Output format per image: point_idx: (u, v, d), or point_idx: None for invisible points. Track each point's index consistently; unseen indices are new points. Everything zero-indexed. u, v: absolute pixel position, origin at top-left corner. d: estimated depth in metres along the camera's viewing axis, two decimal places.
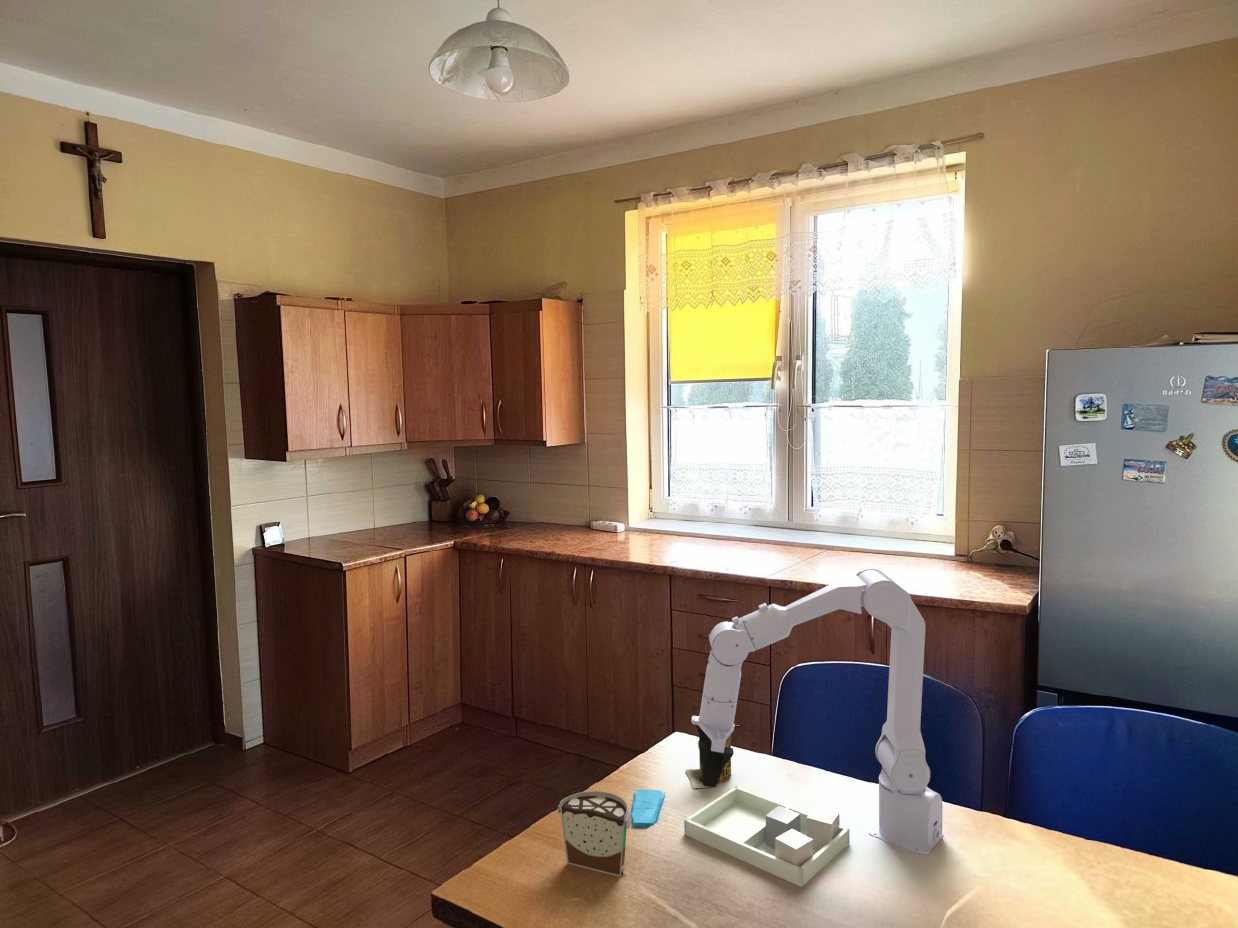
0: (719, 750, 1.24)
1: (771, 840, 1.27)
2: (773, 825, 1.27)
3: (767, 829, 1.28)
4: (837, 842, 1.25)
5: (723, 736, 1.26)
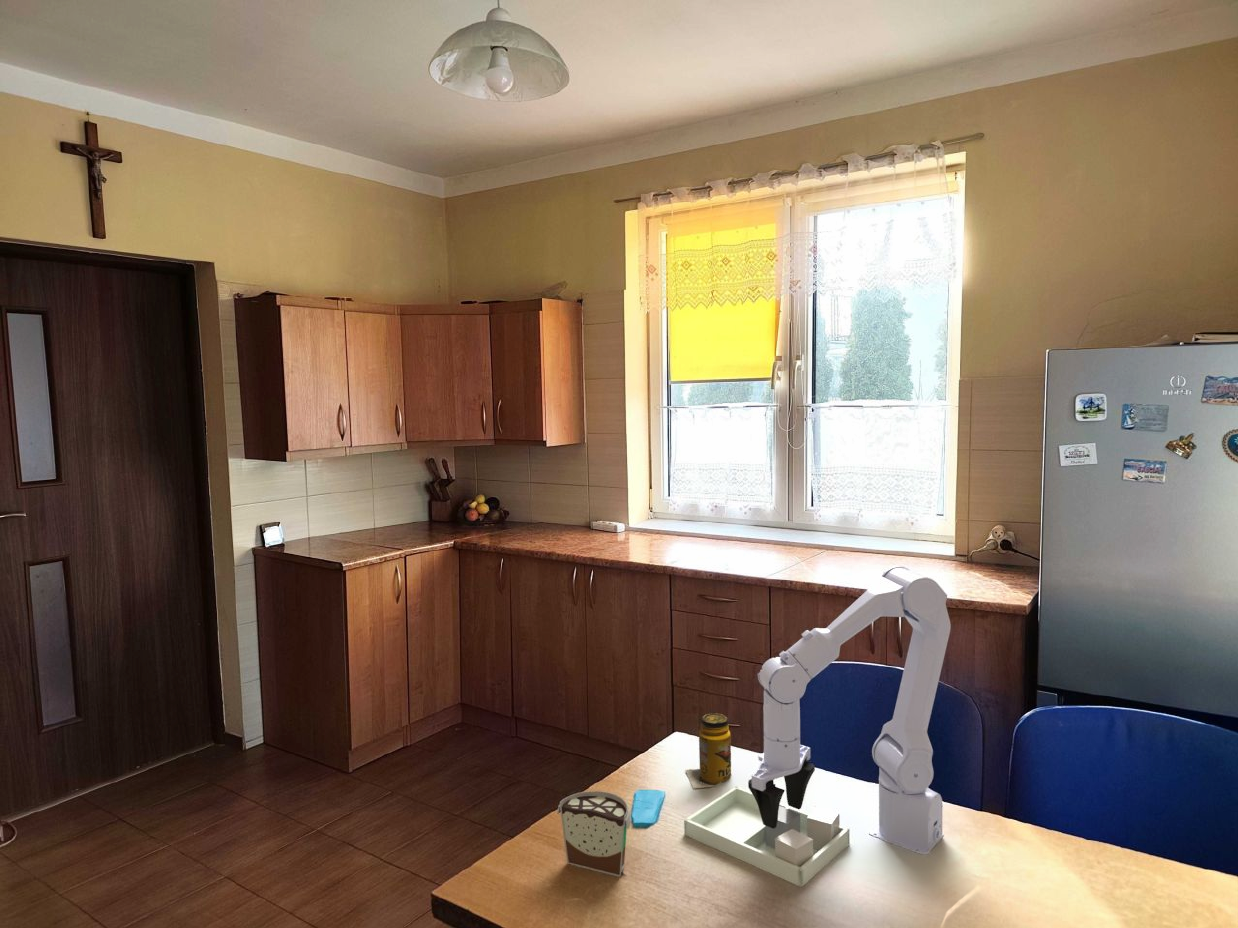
0: (758, 788, 1.22)
1: (771, 840, 1.27)
2: None
3: (767, 829, 1.28)
4: (837, 842, 1.25)
5: None
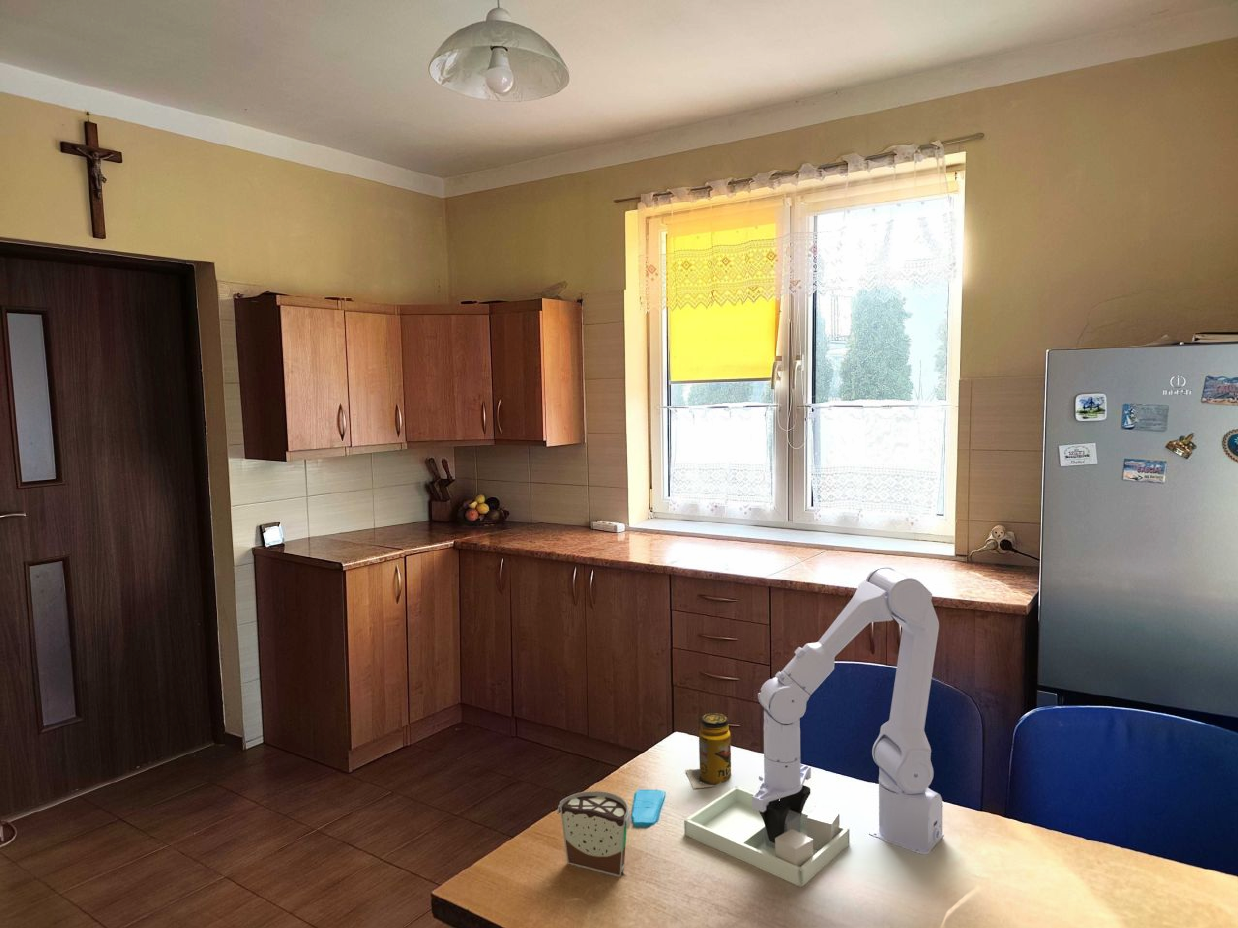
0: (758, 809, 1.22)
1: None
2: None
3: None
4: (837, 842, 1.25)
5: (771, 796, 1.23)
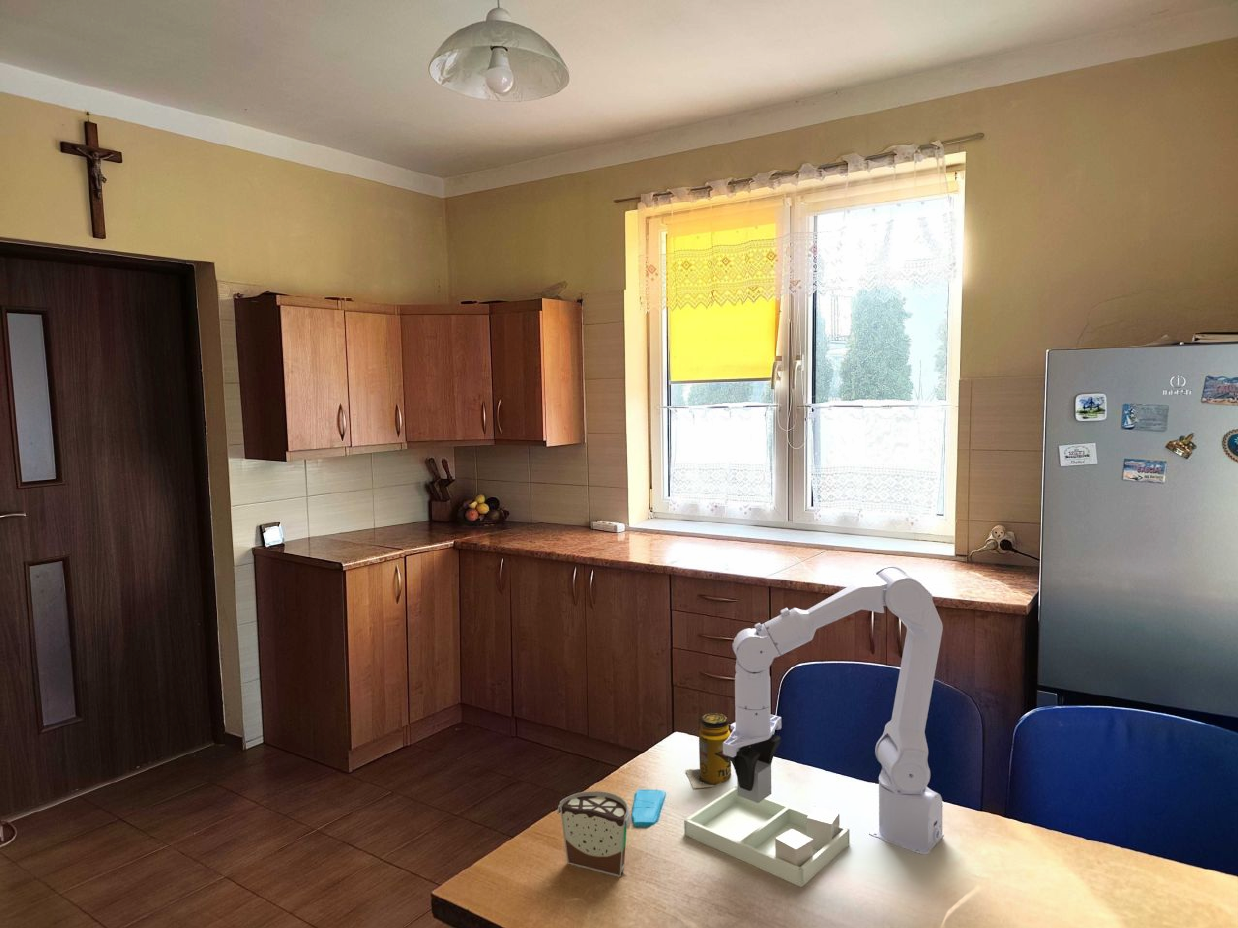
0: (729, 754, 1.25)
1: (742, 790, 1.30)
2: None
3: None
4: (837, 842, 1.25)
5: (741, 742, 1.26)
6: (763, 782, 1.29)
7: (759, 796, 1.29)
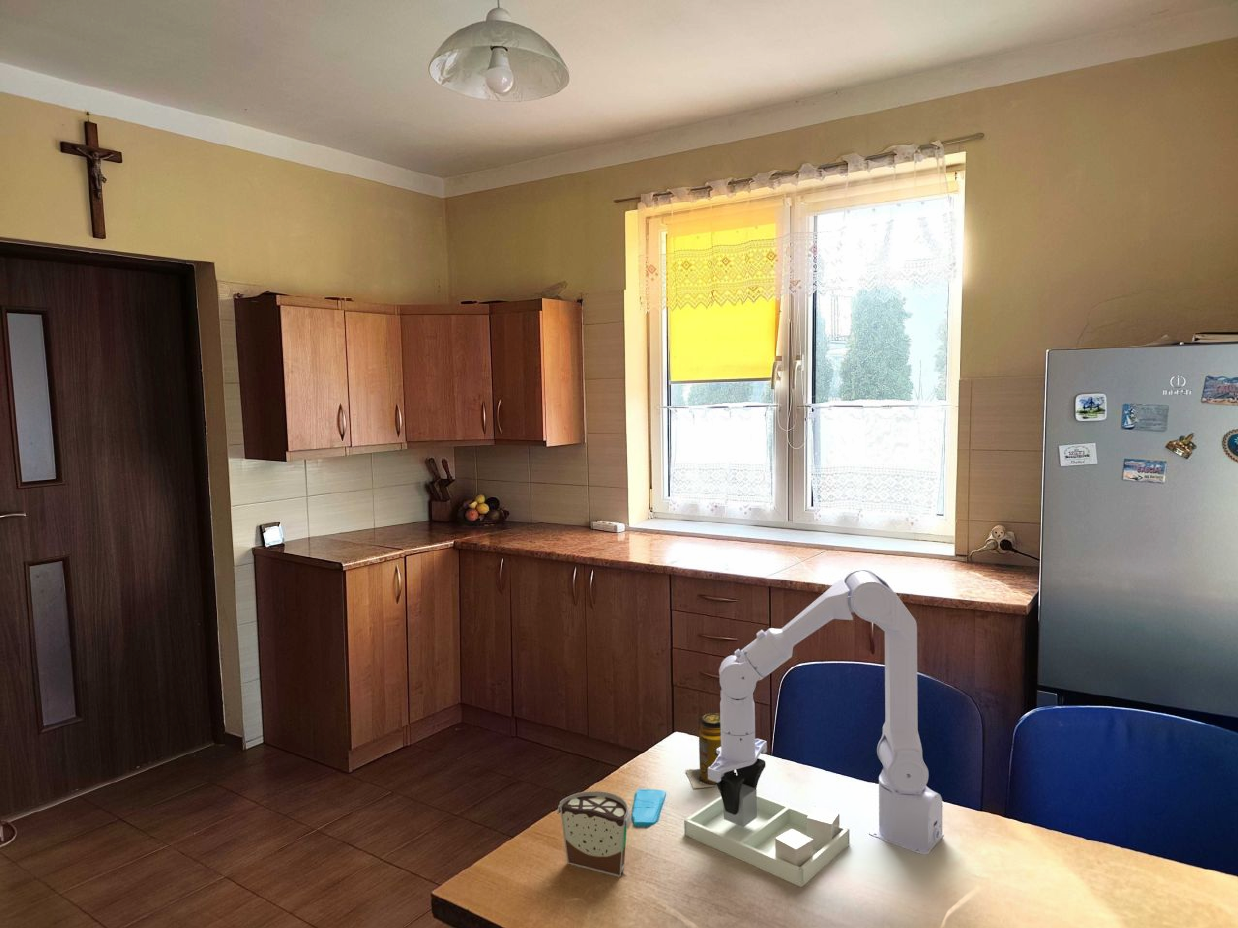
0: (713, 779, 1.28)
1: (728, 814, 1.33)
2: None
3: None
4: (837, 842, 1.25)
5: None
6: (748, 806, 1.32)
7: (744, 820, 1.31)
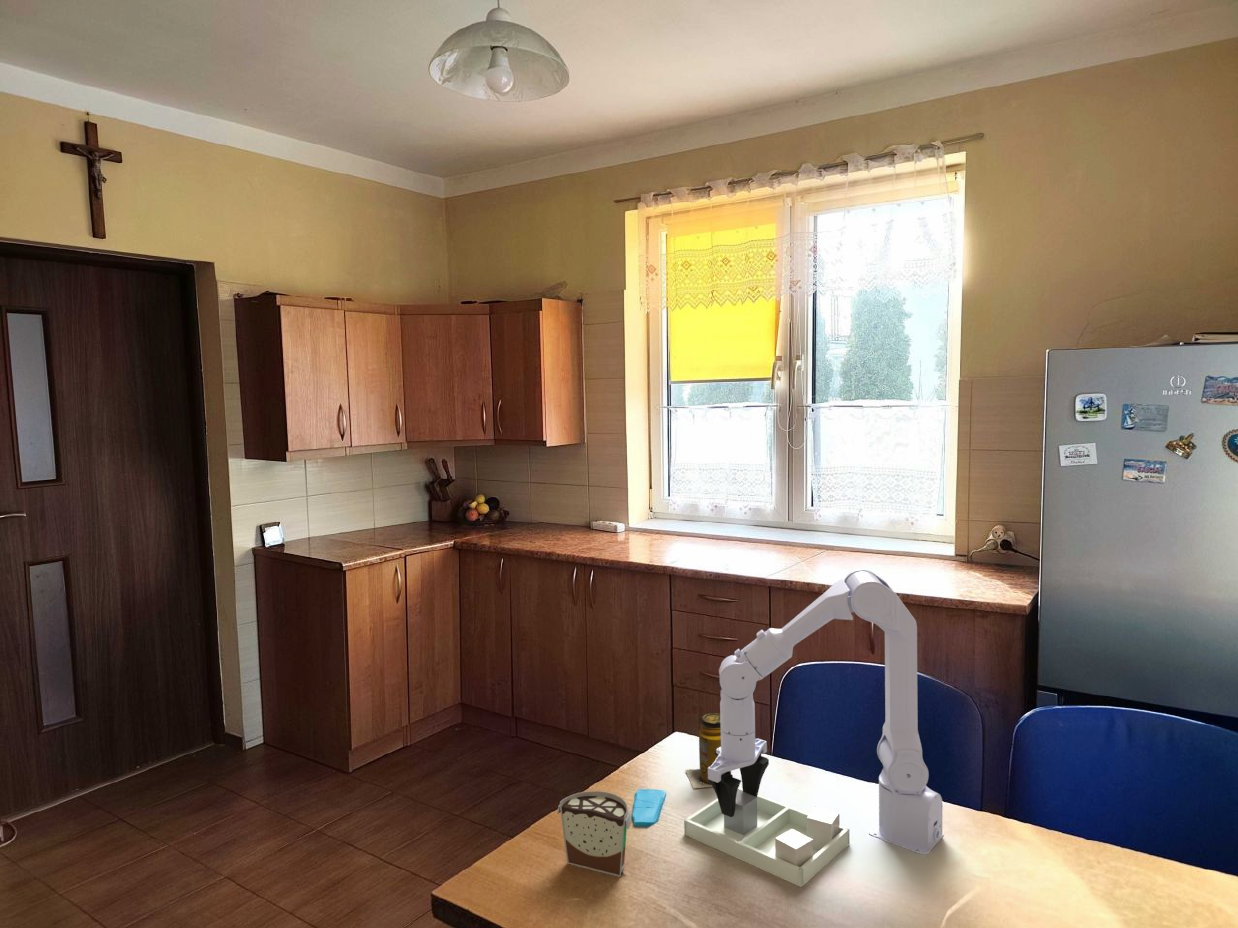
0: (713, 779, 1.28)
1: (728, 822, 1.33)
2: None
3: None
4: (837, 842, 1.25)
5: None
6: (748, 815, 1.32)
7: (744, 828, 1.31)
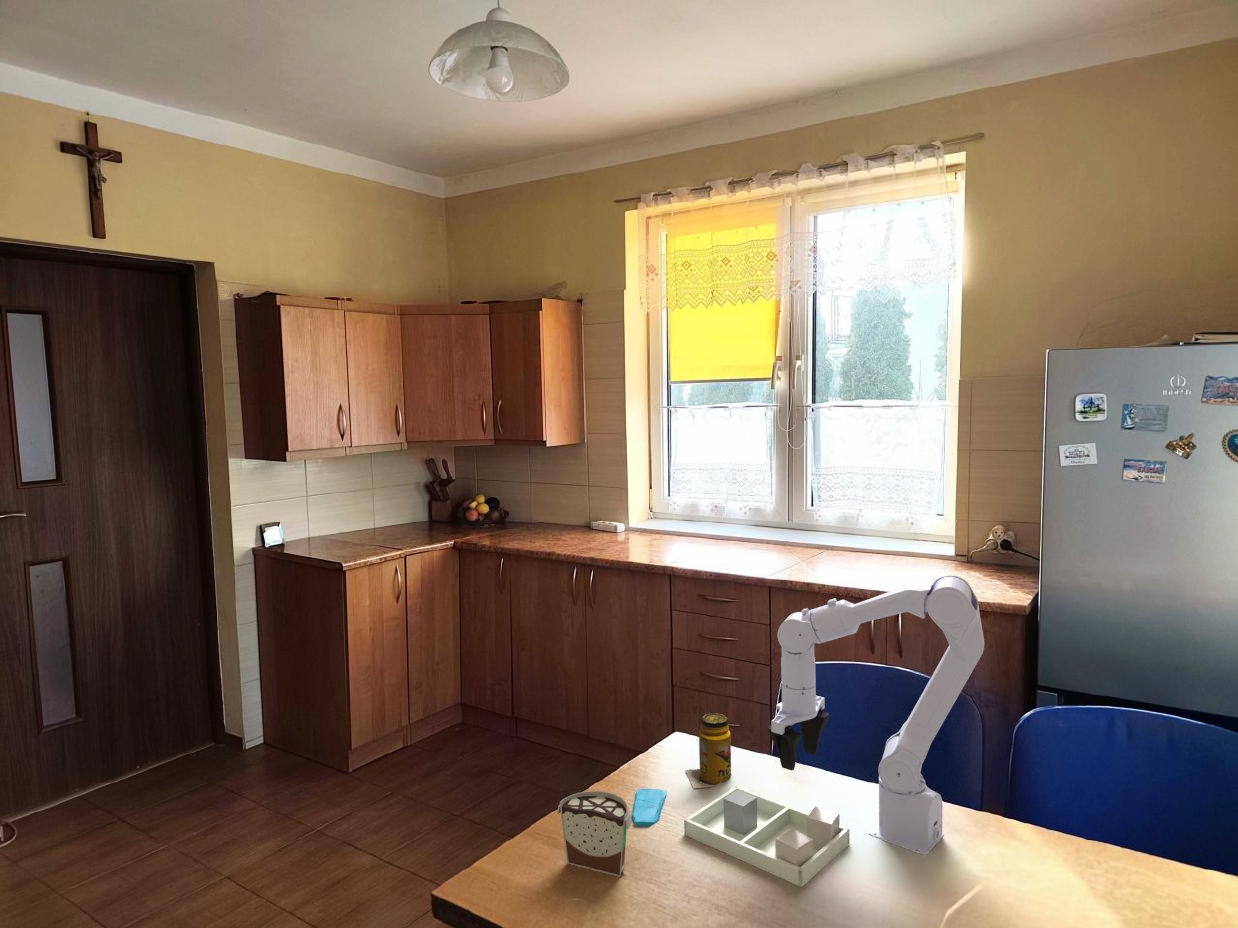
0: (777, 731, 1.31)
1: (728, 822, 1.33)
2: (731, 807, 1.33)
3: (725, 812, 1.34)
4: (837, 842, 1.25)
5: None
6: (748, 815, 1.32)
7: (744, 828, 1.31)
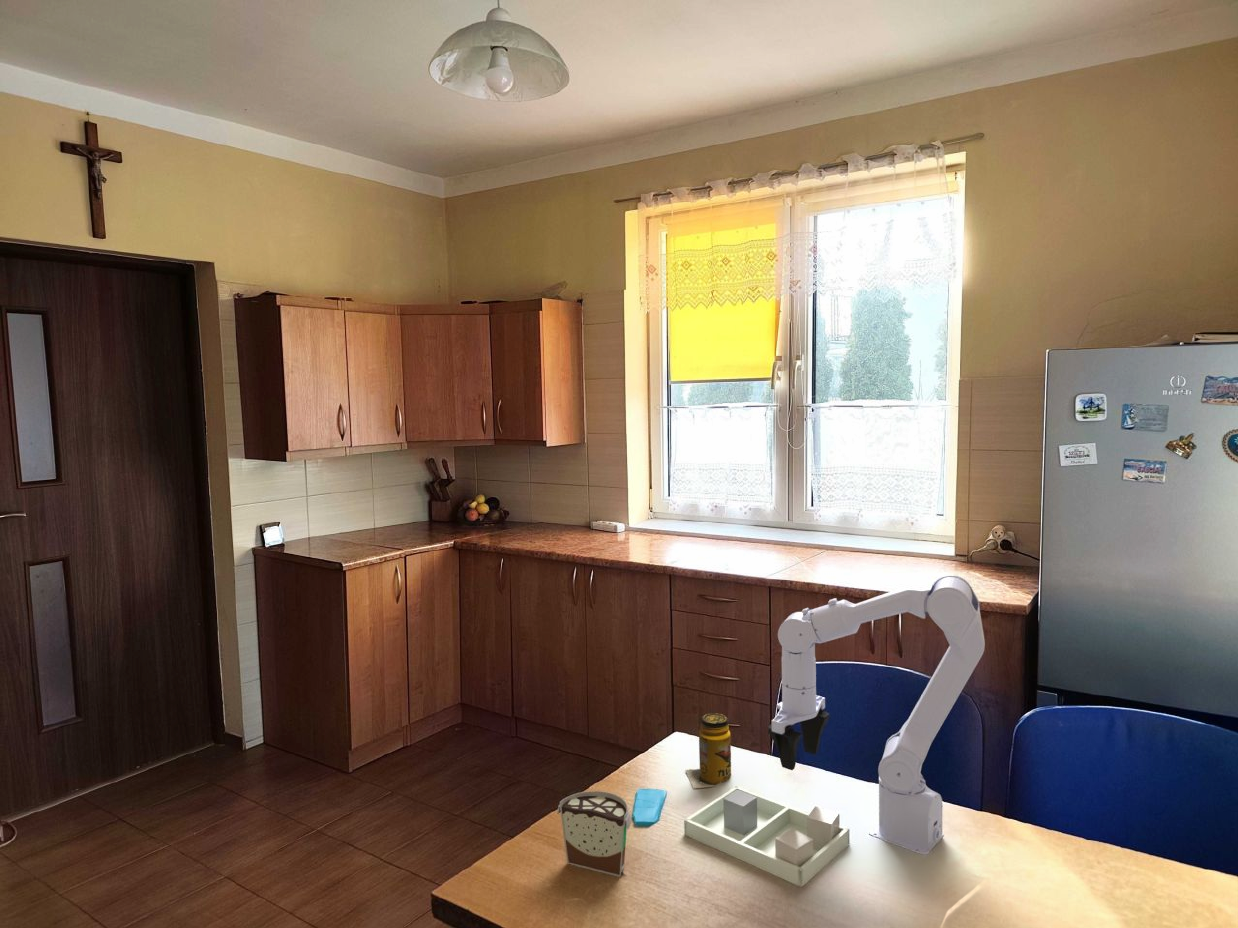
0: (777, 731, 1.31)
1: (728, 822, 1.33)
2: (731, 807, 1.33)
3: (725, 812, 1.34)
4: (837, 842, 1.25)
5: (789, 720, 1.32)
6: (748, 815, 1.32)
7: (744, 828, 1.31)
